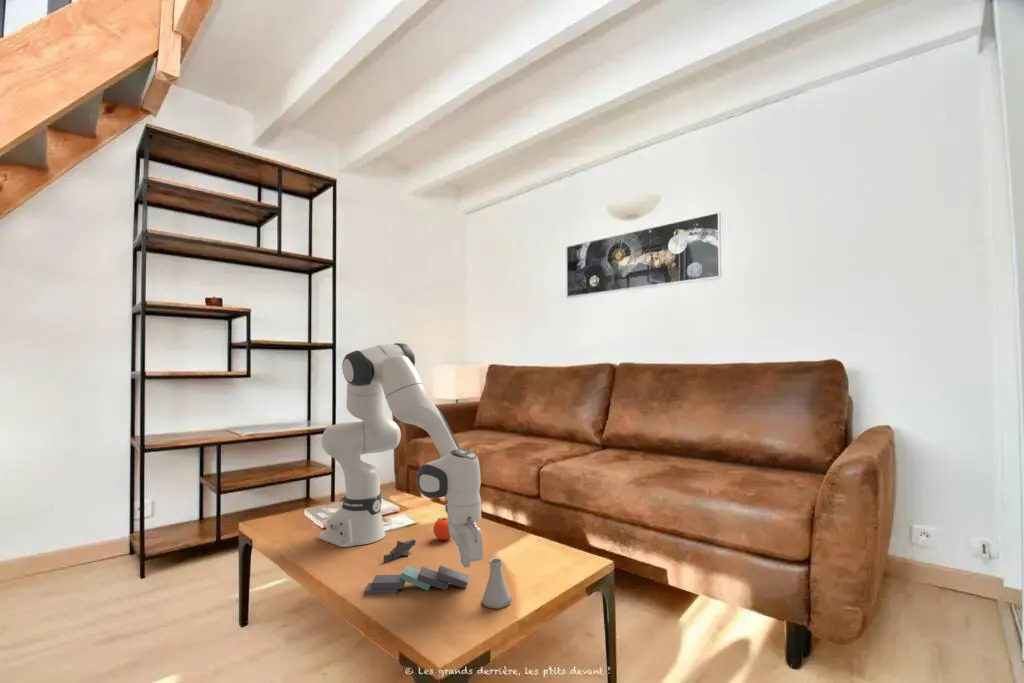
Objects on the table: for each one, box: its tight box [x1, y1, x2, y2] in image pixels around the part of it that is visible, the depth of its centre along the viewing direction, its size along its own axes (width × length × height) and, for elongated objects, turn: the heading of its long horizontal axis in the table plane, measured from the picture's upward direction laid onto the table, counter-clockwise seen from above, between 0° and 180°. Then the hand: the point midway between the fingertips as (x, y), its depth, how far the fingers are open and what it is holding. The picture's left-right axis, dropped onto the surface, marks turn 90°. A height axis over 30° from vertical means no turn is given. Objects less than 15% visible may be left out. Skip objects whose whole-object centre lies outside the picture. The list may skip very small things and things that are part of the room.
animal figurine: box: [383, 538, 417, 564], centre depth 147 cm, size 12×4×5 cm, turn 140°
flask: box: [480, 557, 513, 609], centre depth 119 cm, size 7×7×10 cm
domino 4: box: [417, 566, 449, 591], centre depth 127 cm, size 2×4×8 cm
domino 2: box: [371, 573, 407, 590], centre depth 126 cm, size 2×4×8 cm
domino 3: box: [400, 565, 432, 592], centre depth 127 cm, size 2×4×8 cm
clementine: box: [432, 516, 451, 541], centre depth 160 cm, size 8×7×7 cm
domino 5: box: [437, 565, 469, 589], centre depth 128 cm, size 2×4×8 cm
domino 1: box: [364, 582, 399, 596], centre depth 126 cm, size 2×4×8 cm
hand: (465, 565), depth 128 cm, fingers closed
